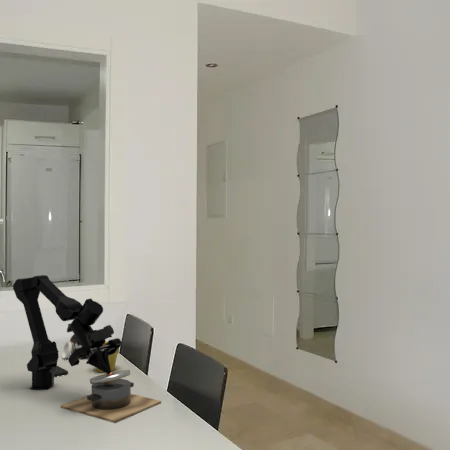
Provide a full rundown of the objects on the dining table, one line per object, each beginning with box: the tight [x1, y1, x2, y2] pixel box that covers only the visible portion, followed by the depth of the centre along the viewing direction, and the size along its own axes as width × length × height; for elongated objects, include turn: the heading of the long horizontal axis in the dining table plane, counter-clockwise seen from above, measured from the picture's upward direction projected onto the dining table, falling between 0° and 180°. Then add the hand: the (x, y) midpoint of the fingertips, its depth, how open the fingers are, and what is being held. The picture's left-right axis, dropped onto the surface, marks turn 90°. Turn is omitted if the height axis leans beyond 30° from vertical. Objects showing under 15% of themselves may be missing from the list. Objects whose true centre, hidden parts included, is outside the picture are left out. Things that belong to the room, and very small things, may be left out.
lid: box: [89, 369, 131, 385], centre depth 173 cm, size 13×13×2 cm
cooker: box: [86, 378, 135, 410], centre depth 173 cm, size 12×17×6 cm
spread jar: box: [61, 334, 87, 360], centre depth 232 cm, size 12×11×12 cm
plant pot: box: [95, 341, 120, 373], centre depth 213 cm, size 10×10×10 cm
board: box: [60, 393, 162, 424], centre depth 173 cm, size 24×20×1 cm
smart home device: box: [52, 365, 69, 378], centre depth 213 cm, size 8×2×20 cm
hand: (109, 372), depth 173 cm, fingers closed, pressing on lid
